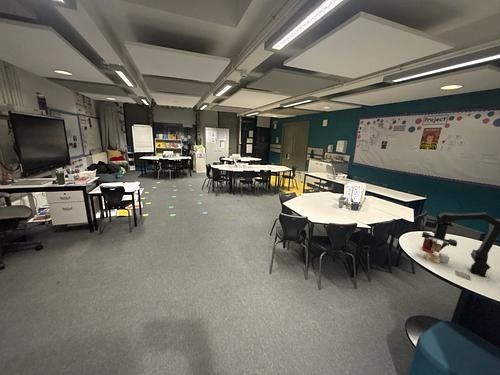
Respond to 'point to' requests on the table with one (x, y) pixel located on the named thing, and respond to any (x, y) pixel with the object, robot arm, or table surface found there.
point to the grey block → (443, 258)
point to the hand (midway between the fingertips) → (435, 249)
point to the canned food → (428, 245)
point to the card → (463, 275)
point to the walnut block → (436, 247)
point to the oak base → (432, 258)
